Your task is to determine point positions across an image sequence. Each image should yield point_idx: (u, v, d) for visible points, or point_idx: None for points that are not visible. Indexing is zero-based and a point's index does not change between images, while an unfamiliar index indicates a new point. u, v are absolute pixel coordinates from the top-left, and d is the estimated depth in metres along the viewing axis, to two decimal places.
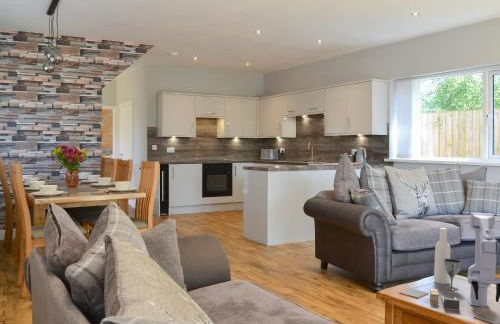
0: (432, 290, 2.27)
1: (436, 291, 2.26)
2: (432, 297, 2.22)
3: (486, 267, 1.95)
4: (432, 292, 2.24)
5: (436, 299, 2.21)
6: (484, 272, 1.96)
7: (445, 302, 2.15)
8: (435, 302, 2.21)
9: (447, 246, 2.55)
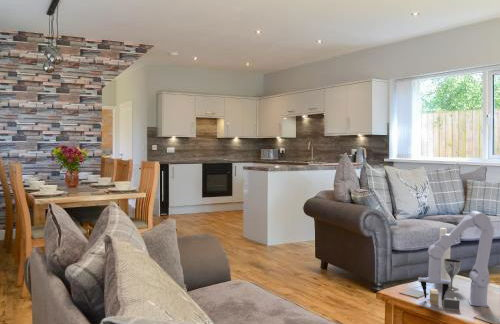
0: (432, 290, 2.27)
1: (436, 291, 2.26)
2: (432, 297, 2.22)
3: None
4: (432, 292, 2.24)
5: (436, 299, 2.21)
6: (431, 274, 2.24)
7: (445, 302, 2.15)
8: (435, 302, 2.21)
9: None
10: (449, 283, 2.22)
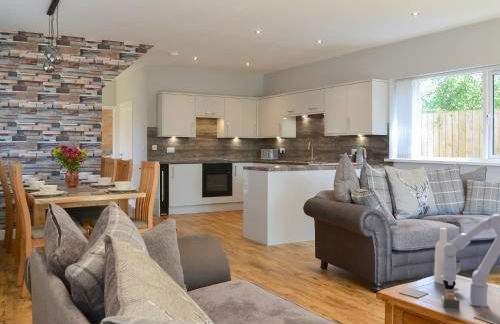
0: (448, 290, 2.25)
1: (452, 291, 2.23)
2: (448, 297, 2.19)
3: None
4: (448, 292, 2.21)
5: (452, 299, 2.19)
6: None
7: (445, 302, 2.15)
8: None
9: None
10: (448, 282, 2.23)
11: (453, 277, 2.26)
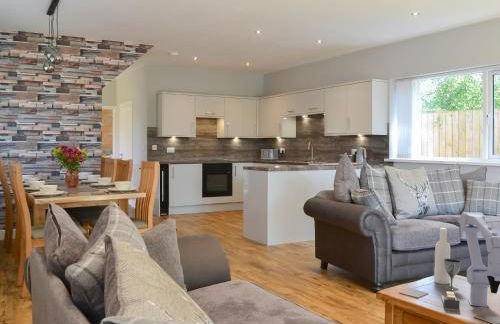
0: (448, 293, 2.21)
1: (453, 294, 2.20)
2: None
3: (495, 261, 2.05)
4: (449, 295, 2.18)
5: None
6: None
7: (445, 302, 2.15)
8: None
9: (447, 246, 2.55)
10: (494, 278, 2.02)
11: (499, 272, 2.05)
